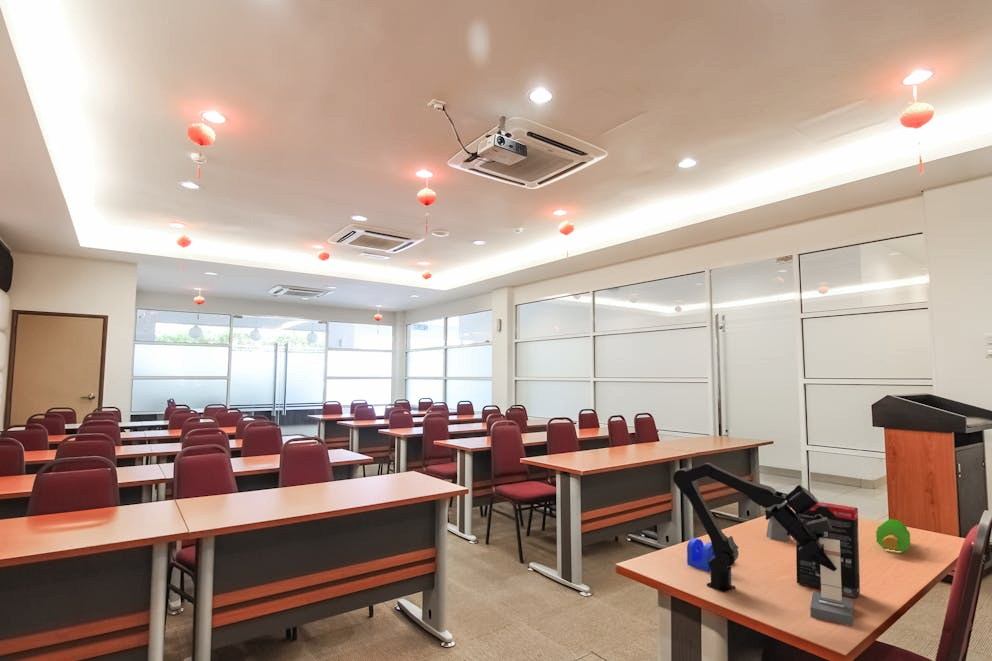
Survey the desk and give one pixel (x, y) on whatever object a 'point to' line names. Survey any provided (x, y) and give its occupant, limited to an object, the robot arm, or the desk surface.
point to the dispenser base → (832, 609)
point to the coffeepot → (776, 528)
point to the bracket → (699, 554)
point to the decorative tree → (893, 535)
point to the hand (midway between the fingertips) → (835, 568)
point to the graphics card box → (847, 533)
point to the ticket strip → (828, 577)
